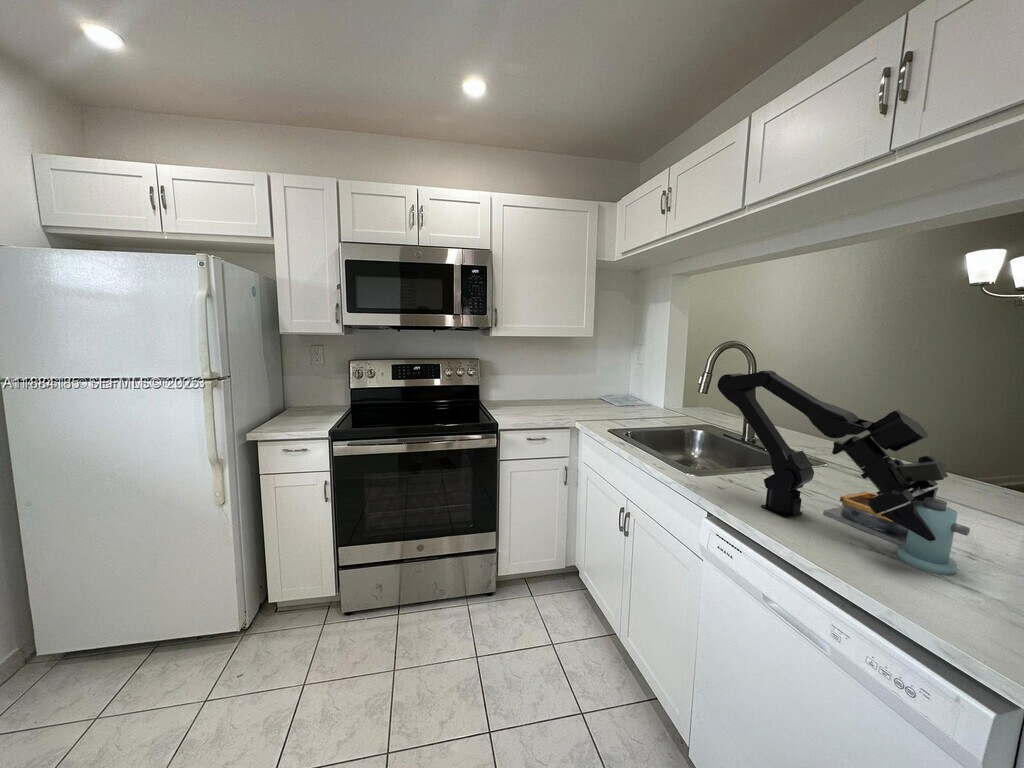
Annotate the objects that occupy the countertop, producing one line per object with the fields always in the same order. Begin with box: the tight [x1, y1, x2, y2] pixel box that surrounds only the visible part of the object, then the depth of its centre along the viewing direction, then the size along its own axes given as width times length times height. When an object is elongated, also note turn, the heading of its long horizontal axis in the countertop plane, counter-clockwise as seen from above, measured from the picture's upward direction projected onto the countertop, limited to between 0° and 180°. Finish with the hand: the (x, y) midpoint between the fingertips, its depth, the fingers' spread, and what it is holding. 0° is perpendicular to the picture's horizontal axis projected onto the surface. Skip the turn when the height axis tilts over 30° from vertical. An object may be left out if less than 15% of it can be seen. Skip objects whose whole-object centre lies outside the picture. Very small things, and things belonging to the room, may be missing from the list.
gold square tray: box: [822, 491, 908, 546], centre depth 93 cm, size 16×14×5 cm
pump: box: [896, 497, 971, 576], centre depth 76 cm, size 9×8×13 cm
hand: (940, 534), depth 76 cm, fingers open, 9 cm apart
